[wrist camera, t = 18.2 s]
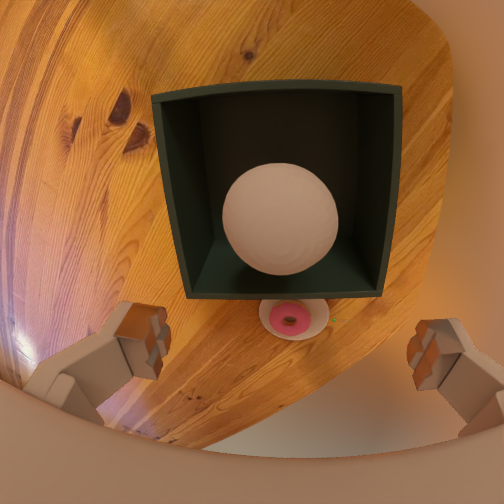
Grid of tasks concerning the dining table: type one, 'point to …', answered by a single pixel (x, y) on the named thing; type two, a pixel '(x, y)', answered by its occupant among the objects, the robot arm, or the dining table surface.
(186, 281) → the bin
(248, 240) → the lollipop
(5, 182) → the dining table surface
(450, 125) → the dining table surface
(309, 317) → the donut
